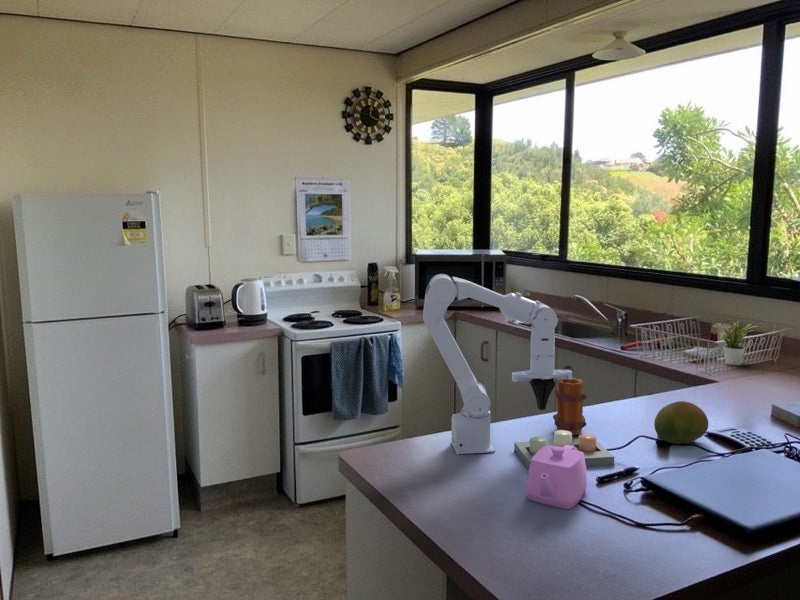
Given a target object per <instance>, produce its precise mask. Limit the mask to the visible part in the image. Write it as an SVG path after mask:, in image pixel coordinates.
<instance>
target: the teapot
mask: <svg viewBox="0 0 800 600" xmlns="http://www.w3.org/2000/svg"><path fill="white" fill-rule="evenodd" d="M587 477H588V476H587V467H586V464H585V457H584V453H583V452H582V451H577V450H574V446H569V445H565V446H564V447H563V448H562V447H558V446H550V445H546V446H544V447H543V448H541V449H540V450H539V451H538V452H537V453H536V454H535V455H534V456H533V458H532V459H531V463H530V467H529V469H528V474H527V482H526V495H527V498H528V500H529V501H531V502H535V503H539V504H542V505H545V506H550V507H553V508H558V509H563V510H572V509H573V508H574V507H575V506H576V505H577V504H578V503H579V502H580V501H581V499H582V497H583V496H584V494H585V492H586V489H587V485H588V484H587V482H588V481H587V480H588V479H587Z"/></svg>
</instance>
